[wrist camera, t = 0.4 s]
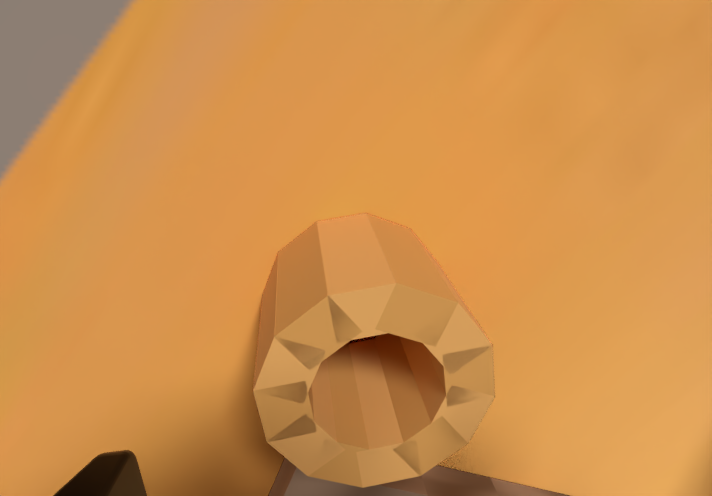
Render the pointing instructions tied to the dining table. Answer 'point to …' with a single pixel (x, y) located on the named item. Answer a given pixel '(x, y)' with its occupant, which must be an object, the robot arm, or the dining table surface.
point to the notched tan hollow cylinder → (367, 355)
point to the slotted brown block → (403, 485)
